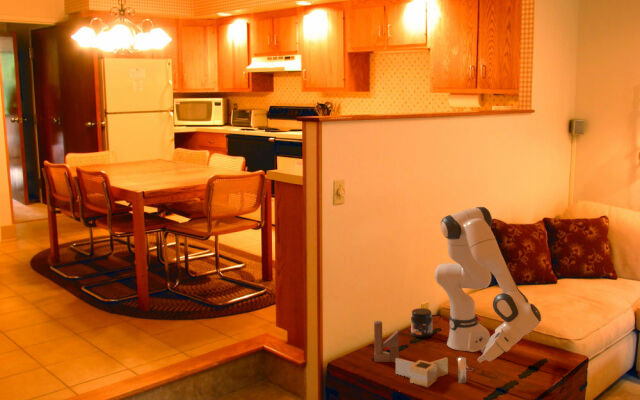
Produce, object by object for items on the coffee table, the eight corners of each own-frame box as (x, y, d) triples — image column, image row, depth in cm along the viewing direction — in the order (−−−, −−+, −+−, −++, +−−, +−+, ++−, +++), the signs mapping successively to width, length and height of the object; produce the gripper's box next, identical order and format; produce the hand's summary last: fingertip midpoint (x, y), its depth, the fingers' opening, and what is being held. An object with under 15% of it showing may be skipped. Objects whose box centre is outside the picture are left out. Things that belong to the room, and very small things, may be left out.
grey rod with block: (398, 362, 275) (397, 323, 273) (374, 362, 277) (373, 323, 274) (398, 359, 279) (398, 321, 276) (374, 358, 281) (373, 320, 278)
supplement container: (406, 334, 308) (406, 311, 307) (421, 329, 315) (421, 306, 313) (421, 340, 300) (421, 316, 298) (437, 335, 306) (437, 311, 304)
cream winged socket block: (448, 373, 263) (448, 357, 262) (429, 388, 250) (429, 371, 249) (411, 363, 274) (410, 348, 273) (391, 377, 262) (391, 361, 260)
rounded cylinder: (463, 379, 257) (463, 356, 256) (467, 382, 254) (467, 359, 253) (456, 380, 256) (456, 357, 254) (461, 384, 253) (460, 360, 251)
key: (451, 359, 279) (461, 373, 264) (451, 357, 279) (461, 371, 264) (464, 357, 279) (475, 371, 264) (464, 355, 279) (474, 369, 264)
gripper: (503, 320, 255) (479, 340, 260) (496, 338, 236) (470, 359, 242) (514, 332, 254) (490, 352, 259) (508, 351, 235) (482, 372, 241)
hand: (480, 356), depth 250 cm, fingers open, 8 cm apart
